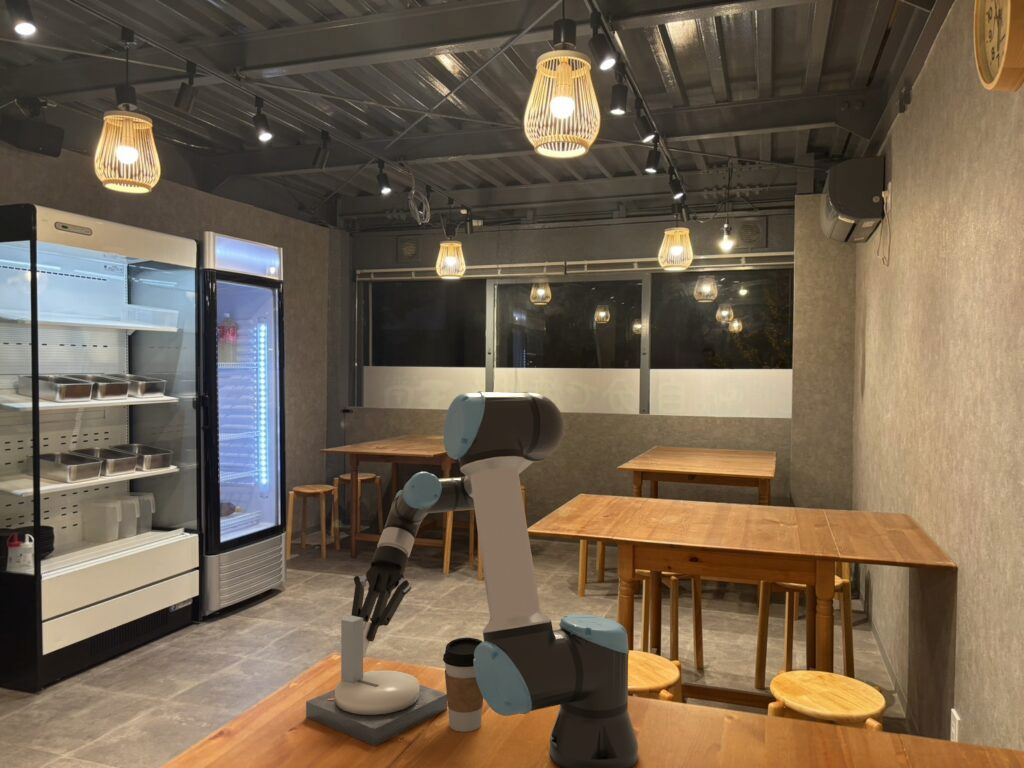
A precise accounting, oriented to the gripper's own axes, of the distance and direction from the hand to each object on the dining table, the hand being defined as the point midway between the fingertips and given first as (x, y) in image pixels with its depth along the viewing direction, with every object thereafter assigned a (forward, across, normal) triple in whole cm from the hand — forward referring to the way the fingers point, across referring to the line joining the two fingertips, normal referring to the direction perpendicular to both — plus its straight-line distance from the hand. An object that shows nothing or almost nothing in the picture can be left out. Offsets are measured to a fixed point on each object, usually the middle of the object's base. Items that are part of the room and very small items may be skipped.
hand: (357, 654), depth 153 cm
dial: (+7, -7, -1) cm, 10 cm away
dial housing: (+10, -7, -3) cm, 12 cm away
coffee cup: (+10, -25, -3) cm, 27 cm away
